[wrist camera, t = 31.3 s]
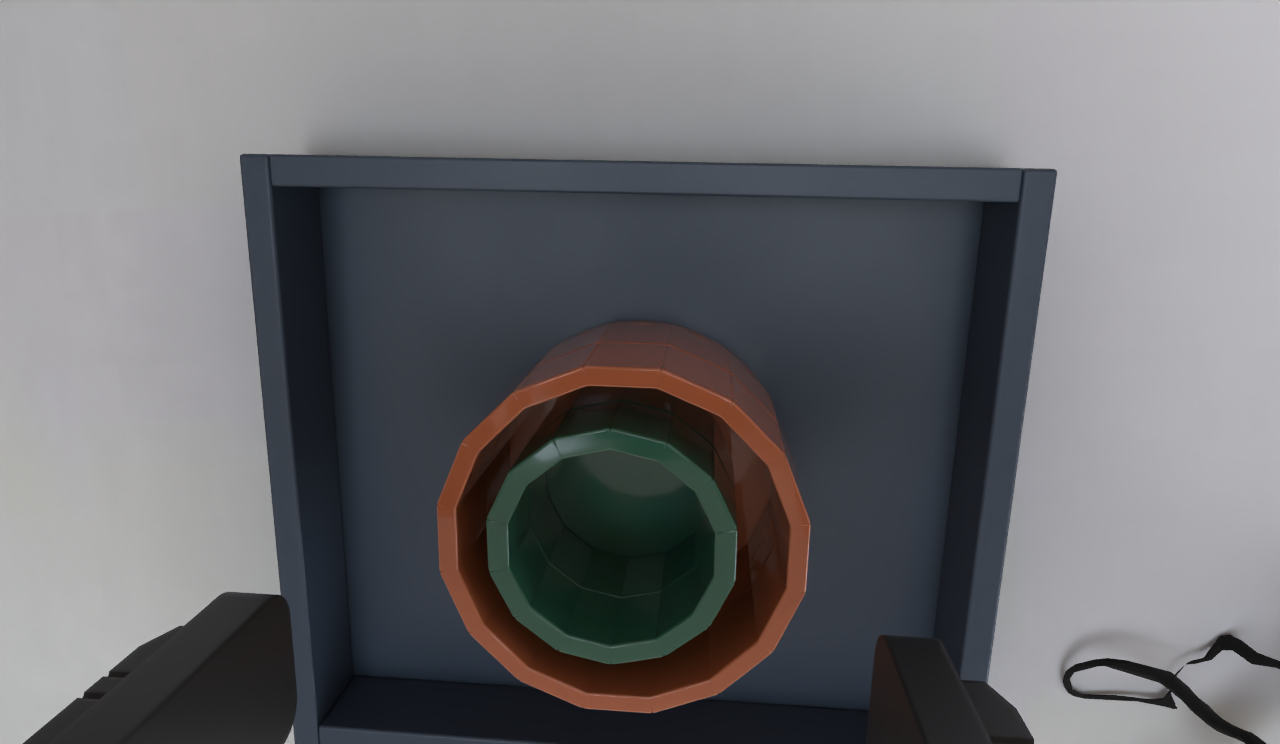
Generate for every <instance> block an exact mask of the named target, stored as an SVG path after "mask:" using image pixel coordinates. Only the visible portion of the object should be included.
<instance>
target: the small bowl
mask: <svg viewBox="0 0 1280 744" xmlns="http://www.w3.org/2000/svg"><path fill="white" fill-rule="evenodd" d="M486 533H487V556H488V570H489V574H490V575H491V577H492V579H493V581H494V583H495V585H496V586H497V588H498V590H499V592H500V594H501V596H502V597H503V599H504V601H505V603H506V605H507V607H508V608H509V610H510V612H511V614H512V616H513V617H515V619H516V620H517V621H518V622H519V623H521V624H522V625H523V626H525V627H526V628H527V629H529V630H530V631H531V632H533V633H534V634H535V635H537V636H538V637H539V638H541V639H542V640H543V641H544V642H546V643H547V644H548V645H550V646H551V647H552V648H554V649H555V650H558V651H559V652H562V653H566V654H570V655H574V656H578V657H582V658H586V659H589V660H593V661H597V662H601V663H605V664H610V663H611V664H613V665H614V664H620V663H627V662H634V661H640V660H647V659H654V658H661V657H663V656H667V655H668V654H670V653H671V652H673V651H674V650H676V649H677V648H679V647H680V646H682V645H684V644H685V643H687V642H688V641H690V640H691V639H693V638H694V637H696V636H697V635H699V634H700V633H702V632H704V631H705V630H707V629H708V627H709V626H711V624H712V622H713V621H714V619H715V617H716V616H717V614H718V612H719V610H720V609H721V607H722V605H723V604H724V602H725V600H726V598H727V597H728V595H729V593H730V592H731V590H732V588H733V586H734V585H735V581H736V568H737V541H738V527H737V513H736V500H735V486H734V473H733V462H732V458H731V456H730V453H729V449H728V446H727V443H726V440H725V437H724V435H723V433H722V431H721V429H720V427H719V425H718V424H717V422H716V421H715V419H714V418H713V416H712V415H711V414H710V412H708V411H706V410H704V409H702V408H699V407H697V406H695V405H693V404H690V403H688V402H686V401H684V400H681V399H679V398H677V397H675V396H672V395H670V394H668V393H666V392H663V391H661V390H659V389H653V388H628V387H603V386H586V387H583V388H581V389H578V390H575V391H574V392H572V393H570V394H569V395H568V396H567V397H566V398H564V399H563V400H562V401H561V402H560V403H559V404H558V405H557V406H556V407H555V408H554V409H553V410H552V411H551V412H549V413H548V415H547V416H546V417H545V418H544V420H543V421H542V423H541V424H540V426H539V427H538V429H537V430H536V432H535V433H534V435H533V436H532V438H531V439H530V441H529V442H528V444H527V445H526V447H525V448H524V450H523V451H522V452H521V454H520V455H519V457H518V458H517V460H516V461H515V463H514V464H513V466H512V467H511V469H510V470H509V472H508V473H507V475H506V477H505V479H504V482H503V484H502V486H501V488H500V490H499V492H498V494H497V496H496V498H495V500H494V503H493V505H492V507H491V509H490V511H489V513H488V515H487V520H486Z"/></svg>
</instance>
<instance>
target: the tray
mask: <svg viewBox="0 0 1280 744" xmlns="http://www.w3.org/2000/svg"><path fill="white" fill-rule="evenodd" d="M240 164H241V174H242V185H243V196H244V206H245V217H246V228H247V238H248V249H249V260H250V270H251V281H252V292H253V302H254V313H255V323H256V334H257V345H258V355H259V366H260V377H261V387H262V398H263V409H264V419H265V430H266V441H267V451H268V462H269V472H270V483H271V494H272V504H273V515H274V526H275V536H276V547H277V558H278V568H279V579H280V590H281V596H283V597H284V598H285V599H286V601H287V603H288V605H289V609H290V616H291V628H292V639H293V651H294V663H295V674H296V686H297V707H296V713H295V718H294V721H293V728H294V739H295V744H866V733H867V723H868V713H869V703H870V694H871V684H872V674H873V665H874V655H875V647H876V643H877V640H878V637H879V636H880V635H894V636H909V637H925V638H938V639H940V640H941V642H942V643H943V645H944V647H945V649H946V651H947V653H948V655H949V657H950V659H951V661H952V663H953V665H954V667H955V669H956V671H957V673H958V675H959V677H960V679H961V680H971V681H984V682H986V683H987V682H988V675H989V668H990V660H991V653H992V646H993V638H994V631H995V624H996V616H997V609H998V602H999V594H1000V587H1001V580H1002V572H1003V565H1004V558H1005V550H1006V543H1007V536H1008V528H1009V521H1010V514H1011V506H1012V499H1013V492H1014V484H1015V477H1016V469H1017V462H1018V455H1019V447H1020V440H1021V433H1022V425H1023V418H1024V411H1025V403H1026V396H1027V389H1028V381H1029V374H1030V367H1031V359H1032V352H1033V345H1034V337H1035V330H1036V323H1037V315H1038V308H1039V301H1040V293H1041V286H1042V279H1043V271H1044V264H1045V257H1046V249H1047V242H1048V234H1049V227H1050V220H1051V212H1052V205H1053V198H1054V190H1055V183H1056V176H1057V171H1056V170H1055V169H1031V168H978V167H925V166H872V165H818V164H765V163H712V162H659V161H605V160H552V159H499V158H445V157H392V156H339V155H285V154H242V155H240ZM635 320H646V321H657V322H665V323H669V324H673V325H678V326H682V327H685V328H688V329H690V330H693V331H696V332H698V333H701V334H703V335H705V336H707V337H709V338H710V339H712V340H714V341H716V342H718V343H719V344H721V345H722V346H724V347H725V348H727V349H728V350H729V351H731V352H732V353H734V354H735V355H736V356H737V357H738V358H739V359H740V360H741V361H742V362H743V363H745V364H746V365H747V366H748V367H749V368H750V370H751V371H752V372H753V373H754V375H755V376H756V377H757V378H758V379H759V381H760V382H761V383H762V385H763V387H764V388H765V389H766V390H767V391H768V393H769V395H770V396H771V399H772V401H773V404H774V407H775V409H776V411H777V414H778V416H779V420H780V423H781V426H782V428H783V431H784V434H785V437H786V439H787V442H788V445H789V448H790V451H791V455H792V458H793V462H794V465H795V469H796V473H797V476H798V480H799V483H800V487H801V490H802V494H803V497H804V501H805V504H806V508H807V511H808V515H809V518H810V524H811V531H810V545H809V558H808V572H807V585H806V591H805V595H804V597H803V599H802V601H801V602H800V604H799V606H798V608H797V610H796V611H795V613H794V615H793V617H792V619H791V621H790V622H789V624H788V626H787V628H786V630H785V631H784V633H783V635H782V637H781V639H780V641H779V642H778V644H777V646H776V648H775V650H774V651H772V653H771V654H770V655H769V656H768V657H766V658H765V659H764V660H762V661H761V662H760V663H758V664H757V665H756V666H755V667H753V668H752V669H751V670H749V671H748V672H747V673H746V674H744V675H743V676H742V677H740V678H739V679H738V680H737V681H735V682H734V683H733V684H731V685H730V686H729V687H727V688H726V689H725V690H724V691H722V692H721V693H718V694H717V695H714V696H711V697H707V698H704V699H700V700H697V701H694V702H690V703H687V704H683V705H680V706H676V707H673V708H669V709H666V710H662V711H659V712H655V713H653V712H652V713H641V712H627V711H612V710H598V709H585V708H584V707H582V708H581V707H578V706H576V705H574V704H572V703H569V702H567V701H565V700H562V699H560V698H558V697H555V696H553V695H551V694H549V693H546V692H544V691H542V690H539V689H537V688H535V687H533V686H530V685H528V684H526V683H523V682H521V681H520V679H517V678H516V677H515V676H514V675H512V674H511V673H510V672H509V671H508V670H507V669H506V668H505V667H504V666H503V665H502V664H501V663H500V662H499V661H498V660H497V659H496V658H495V657H493V656H492V655H491V654H490V653H489V652H488V651H487V650H486V649H485V648H484V647H483V646H482V645H481V644H480V643H479V642H478V641H477V640H476V639H474V638H473V637H472V636H471V635H470V632H468V631H467V629H466V626H465V624H464V622H463V620H462V618H461V616H460V614H459V612H458V610H457V607H456V605H455V603H454V601H453V599H452V597H451V595H450V593H449V591H448V588H447V586H446V584H445V582H444V580H443V578H442V576H441V573H440V570H439V548H438V525H437V502H438V499H439V497H440V494H441V492H442V489H443V487H444V484H445V482H446V479H447V477H448V474H449V472H450V469H451V467H452V464H453V462H454V459H455V457H456V454H457V452H458V449H459V447H460V444H461V442H462V441H463V439H464V438H465V437H466V436H467V435H468V434H469V433H470V432H471V430H472V429H473V428H474V427H475V426H476V425H477V424H478V423H479V422H480V421H481V420H482V419H483V417H484V416H485V415H486V414H487V413H488V412H489V411H490V410H491V409H492V408H493V407H494V406H495V405H496V403H497V402H498V401H499V400H500V399H501V398H502V397H503V396H504V395H505V394H506V393H507V392H508V391H509V389H510V388H511V387H512V386H513V385H514V384H515V383H516V382H517V381H518V380H519V379H520V378H521V377H522V376H523V375H524V374H525V373H526V372H527V371H528V370H529V369H531V368H532V367H533V366H534V365H535V364H536V363H537V361H538V360H539V359H540V358H542V357H543V356H544V355H545V354H546V353H547V352H548V351H549V350H550V349H551V348H552V347H553V346H554V345H557V344H558V343H560V342H563V341H565V340H566V339H568V338H569V337H571V336H574V335H576V334H578V333H580V332H582V331H585V330H587V329H590V328H593V327H597V326H600V325H603V324H608V323H614V322H620V321H635Z"/></svg>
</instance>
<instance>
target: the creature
mask: <svg viewBox="0 0 1280 744" xmlns="http://www.w3.org/2000/svg"><path fill="white" fill-rule="evenodd" d="M1222 650H1233V651H1234V652H1236V653H1237V654H1239V655H1240V656H1241V657H1243V658H1244V659H1245V660H1247V661H1248V662H1250V663H1251V664H1255V665H1262V666H1269V667H1276V668H1278V669H1280V661H1278V660H1275V659H1273V658H1270V657H1267V656H1265V655H1262V654H1259V653H1257V652H1256V651H1254V650H1253V649H1252V648H1251V647H1249V646H1248V645H1247V644H1245V643H1244V642H1243V641H1241V640H1239V639H1237V638H1235V637H1233V636H1231V635H1224V636H1220V637H1219V638H1218V639H1217V640H1216V642H1215V643H1214V644H1213V646H1212V647H1211V648H1210V650H1209V651H1208V653H1207V654H1206V656H1205V657H1204V658H1201V659H1197V660H1193V661H1190V662H1188V663H1187V664H1195V663H1200V662H1204V661H1209V660H1212V659H1213V658H1214V657H1215V656H1216V655H1217V654H1218V653H1220V652H1221V651H1222ZM1096 666H1107V667H1110V668H1113V669H1117V670H1120V671H1123V672H1126V673H1130V674H1133V675H1136V676H1139V677H1143V678H1146V679H1149V680H1152V681H1156V682H1159V683H1161V684H1162V685H1164V686H1165V687H1166V688H1167V689H1169V690H1170V691H1169V692H1168V693H1167V694H1166V696H1165V697H1164V698H1158V699H1143V698H1134V697H1126V696H1117V695H1092V694H1081V693H1079V692H1076V691H1074V690H1073V689H1072V685H1071V682H1070V678H1071V676H1072V675H1073V673H1074V672H1077V671H1081V670H1085V669H1089V668H1093V667H1096ZM1183 667H1184V666H1183ZM1183 667H1182V668H1183ZM1182 668H1181V669H1180V670H1179V671H1178V672H1177V673H1176V674H1175V675H1174V674H1173V673H1172V672H1169V671H1165V670H1161V669H1157V668H1153V667H1149V666H1146V665H1142V664H1138V663H1134V662H1130V661H1126V660H1118V659H1109V658H1106V659H1096V660H1091V661H1087V662H1083V663H1079V664H1076V665H1074V666H1072V667H1071V668H1069V669H1068V670H1067V671H1066V673H1065V675H1064V679H1063V683H1064V686H1065V688H1066V690H1067V691H1068V693H1070V694H1071V695H1073V696H1076V697H1080V698H1085V699H1104V700H1123V701H1139V702H1144V703H1150V704H1155V705H1160V706H1165V707H1169V708H1172V709H1177V707H1176V706H1175V702H1174V700H1173V698H1172V696H1171V692H1172V693H1174V694H1175V695H1176V696H1177V697H1179V698H1180V699H1181V700H1182V701H1183V702H1184V703H1185V704H1186V705H1187V706H1188V707H1189V709H1190V710H1191V711H1193V712H1194V713H1195V714H1196V715H1197V716H1198V717H1199V718H1201V719H1202V720H1203V721H1204V722H1205V723H1206V724H1208V725H1209V726H1211V727H1212V728H1214V729H1215V730H1217V731H1218V732H1221V733H1223V734H1225V735H1228V736H1230V737H1233V738H1236V739H1238V740H1240V741H1242V742H1244V743H1246V744H1266V743H1265V742H1264V741H1262V740H1261V739H1260V738H1259V737H1257V736H1256V735H1254V734H1253V733H1251V732H1248V731H1245V730H1243V729H1240V728H1238V727H1236V726H1234V725H1232V724H1230V723H1228V722H1227V721H1225V720H1223V719H1222V718H1221V717H1220V716H1218V715H1217V714H1216V713H1215V712H1214V711H1213V710H1212V709H1211V708H1210V706H1208V705H1207V704H1206V703H1205V702H1203V701H1202V700H1201V699H1199V698H1198V697H1197V696H1196V695H1195V694H1194V693H1193V691H1192V690H1191V689H1190V688H1189V687H1188V686H1187V685H1186V684H1185V683H1183V682H1182V681H1181V680H1180V679H1179V678H1178V677H1176V676H1177V674H1178V673H1179V672H1180V671H1181V670H1182Z"/></svg>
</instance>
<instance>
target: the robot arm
mask: <svg viewBox="0 0 1280 744" xmlns="http://www.w3.org/2000/svg"><path fill="white" fill-rule="evenodd" d="M296 707H297V686H296V674H295V663H294V651H293V639H292V628H291V616H290V609H289V605H288V603H287V601H286V599H285V598H284V597H283V596H281V595H271V594H255V593H239V592H225V593H223V594H221V595H220V596H218V597H217V598H216V599H215V600H214V601H212V602H211V603H210V604H209V605H208V606H207V607H205V608H204V609H203V610H202V611H201V612H200V613H199V614H197V615H196V616H195V617H194V618H193V619H192V620H190V621H189V622H188V623H187V624H186V625H185V626H179V627H177V628H175V629H173V630H171V631H169V632H167V633H165V634H163V635H161V636H159V637H157V638H155V639H153V640H151V641H149V642H147V643H145V644H143V645H141V646H139V647H138V648H137V649H136V650H135V651H133V652H132V653H131V654H130V655H129V656H127V657H126V658H125V659H124V660H123V661H121V662H120V663H119V664H118V665H117V666H115V667H114V668H113V669H112V670H111V671H109V676H108V677H102V678H101V679H100V680H99V681H97V682H96V683H95V684H94V685H93V686H91V687H90V688H89V689H88V690H87V691H85V692H84V696H83V698H77V699H76V700H75V701H73V702H72V703H71V704H70V705H69V706H67V707H66V708H65V709H64V710H63V711H61V712H60V713H59V714H58V715H57V716H55V717H54V718H53V719H52V720H51V721H49V722H48V723H47V724H46V725H45V726H43V727H42V728H41V729H40V730H39V731H37V732H36V733H35V734H34V735H33V736H31V737H30V738H29V739H28V740H27V741H25V742H24V743H23V744H284V743H285V741H286V739H287V737H288V735H289V733H290V731H291V728H292V725H293V721H294V718H295V713H296ZM866 744H1034V739H1033V737H1032V735H1031V733H1030V732H1029V730H1028V728H1027V726H1026V725H1025V723H1024V721H1023V719H1022V718H1021V716H1020V714H1019V713H1018V711H1017V709H1016V708H1015V707H1014V706H1013V705H1011V704H1010V703H1009V702H1008V701H1007V700H1005V699H1004V698H1003V697H1002V696H1001V695H1000V694H998V693H997V692H996V691H995V690H994V689H993V688H991V687H990V686H989V685H988V684H987V683H986V682H984V681H971V680H961V679H960V677H959V675H958V673H957V671H956V669H955V667H954V665H953V663H952V661H951V659H950V657H949V655H948V653H947V651H946V649H945V647H944V645H943V643H942V642H941V640H940V639H938V638H925V637H909V636H894V635H880V636H879V637H878V640H877V643H876V647H875V655H874V665H873V674H872V684H871V694H870V703H869V713H868V723H867V733H866Z"/></svg>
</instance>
